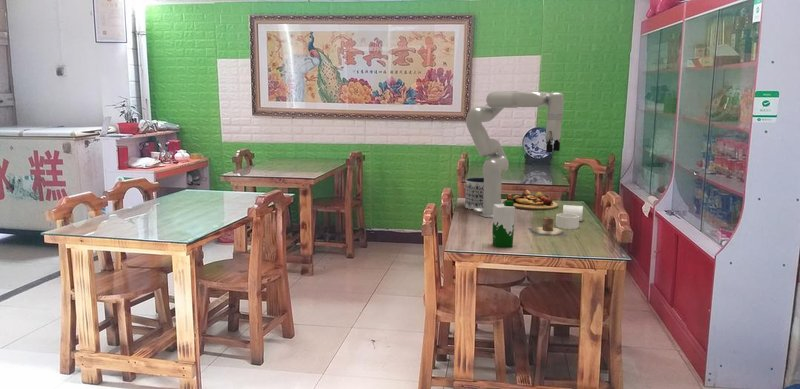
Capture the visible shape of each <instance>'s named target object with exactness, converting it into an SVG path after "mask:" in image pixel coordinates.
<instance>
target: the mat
mask: <svg viewBox="0 0 800 389" xmlns="http://www.w3.org/2000/svg"><path fill="white" fill-rule="evenodd" d="M533 228H534V227H529V228H527V229H528V230H529V232H530V233H531V234H532V235H533V236H534V237H569V235H568V234H567V233H565V231H563V233H562V234H561V235H540V234H536V233H534V232H533Z"/></svg>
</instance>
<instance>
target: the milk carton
mask: <svg viewBox="0 0 800 389" xmlns="http://www.w3.org/2000/svg"><path fill="white" fill-rule="evenodd" d="M504 200H505V199H504ZM504 200H503V201H504ZM515 213H516V208H515V207H514V201H512V200H505V201H504V203H501V204H494V207H493V218H492V229H491V230H492V232H491V233H492V244H493V245H494V247H495V248H513V244H514V235H515V234H514V231H515V229H514V228H515Z"/></svg>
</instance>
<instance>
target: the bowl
mask: <svg viewBox="0 0 800 389" xmlns="http://www.w3.org/2000/svg"><path fill="white" fill-rule="evenodd" d="M579 217H580V216H578V215H575V214H569V213H563V212H561V213H557V214H555V228H558V229H563V230H564V229H565V230H575V229H579V228H580V227H579V226H580V221H579Z"/></svg>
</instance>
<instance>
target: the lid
mask: <svg viewBox="0 0 800 389" xmlns="http://www.w3.org/2000/svg"><path fill="white" fill-rule="evenodd" d="M532 228H533V232H534V233H536V234H540V235H561V234H562V233H563V232H564V231H563V230H562V228H558V227H554V218H553V217H552V216H543V217H542V226H537V227H536V226H535V227H532Z"/></svg>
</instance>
